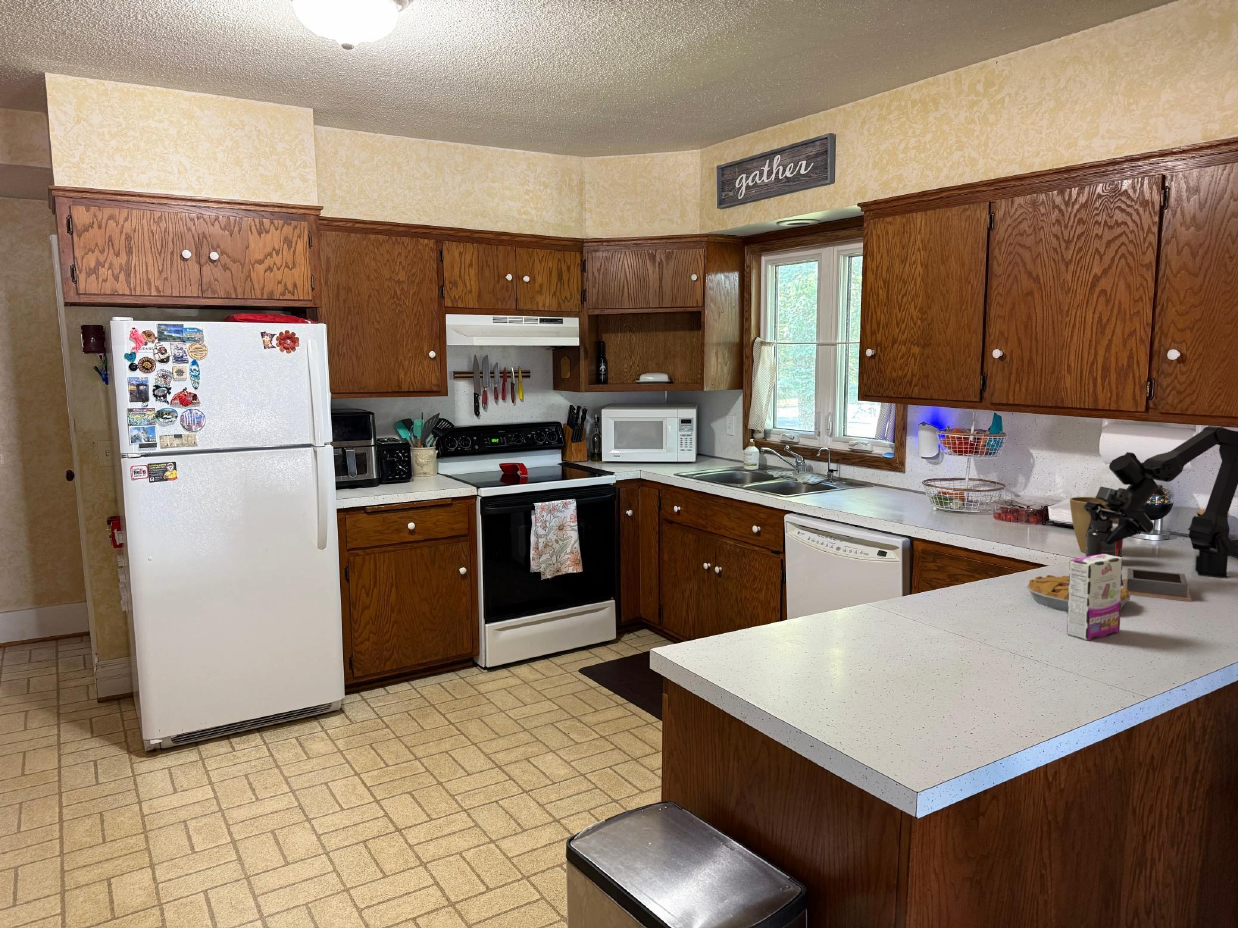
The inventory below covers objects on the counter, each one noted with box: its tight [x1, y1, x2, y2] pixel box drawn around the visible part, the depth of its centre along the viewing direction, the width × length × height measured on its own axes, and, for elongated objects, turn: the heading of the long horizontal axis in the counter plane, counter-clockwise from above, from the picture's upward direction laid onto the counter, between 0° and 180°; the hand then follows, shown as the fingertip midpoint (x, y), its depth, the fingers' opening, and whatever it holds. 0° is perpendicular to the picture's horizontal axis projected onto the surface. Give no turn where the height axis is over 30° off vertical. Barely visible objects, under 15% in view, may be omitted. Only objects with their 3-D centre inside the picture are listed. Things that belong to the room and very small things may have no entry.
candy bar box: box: [1066, 554, 1124, 641], centre depth 179 cm, size 11×5×16 cm, turn 117°
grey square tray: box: [1122, 567, 1192, 602], centre depth 212 cm, size 14×14×4 cm
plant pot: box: [1069, 496, 1119, 554], centre depth 256 cm, size 15×15×16 cm
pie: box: [1026, 574, 1131, 612], centre depth 203 cm, size 22×22×5 cm
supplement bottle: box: [1085, 519, 1116, 557], centre depth 221 cm, size 7×7×12 cm
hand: (1096, 540), depth 221 cm, fingers closed on supplement bottle, 7 cm apart
